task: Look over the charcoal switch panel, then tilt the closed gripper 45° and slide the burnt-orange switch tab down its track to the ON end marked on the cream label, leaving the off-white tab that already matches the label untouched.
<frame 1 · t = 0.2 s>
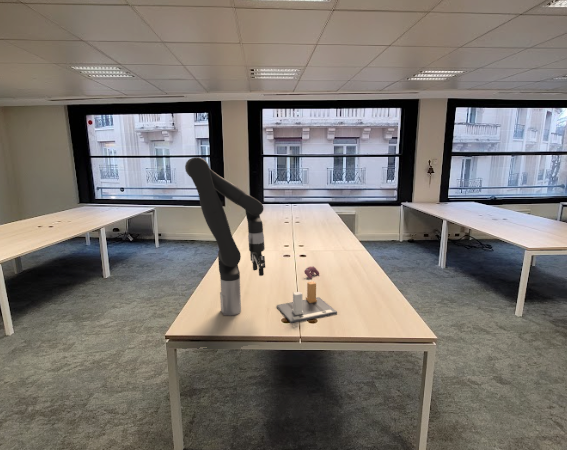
hand: (258, 272, 161), 18 cm above the table, tool pointing down, fingers open, 8 cm apart
video game controller: (311, 276, 206), on the table
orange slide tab: (311, 291, 166), point 6 cm above the table, slide at 0.0 cm
switch panel: (306, 310, 160), on the table
white slide tab: (297, 302, 154), point 6 cm above the table, slide at 9.0 cm
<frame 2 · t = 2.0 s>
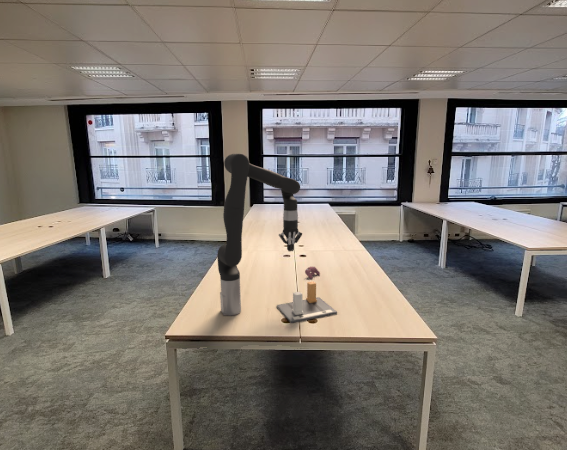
hand: (290, 250, 172), 25 cm above the table, tool pointing down, fingers closed
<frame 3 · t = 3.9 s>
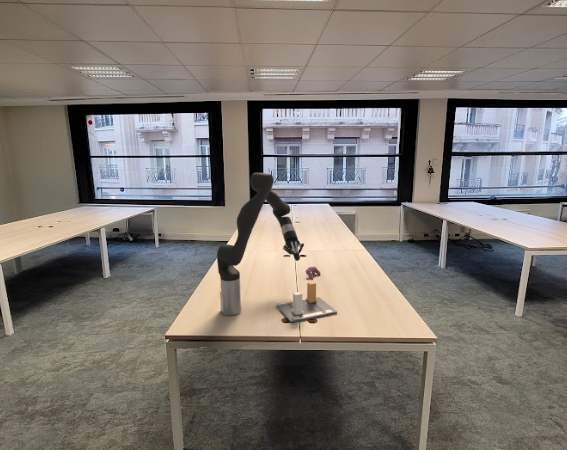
hand: (298, 260, 179), 18 cm above the table, tool tilted 45°, fingers closed
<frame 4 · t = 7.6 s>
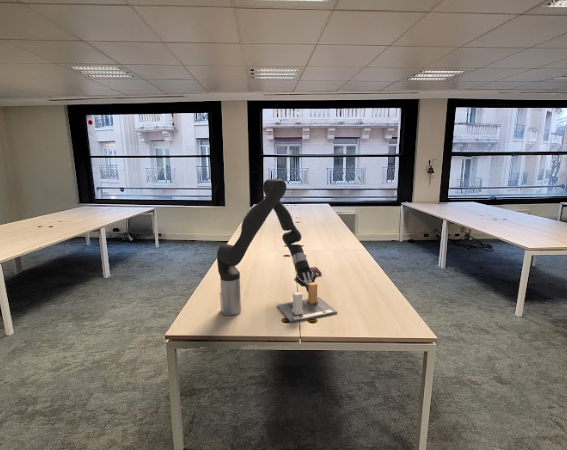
hand: (310, 292, 167), 5 cm above the table, tool tilted 45°, fingers closed
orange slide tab: (312, 292, 165), point 6 cm above the table, slide at 1.2 cm, touching gripper
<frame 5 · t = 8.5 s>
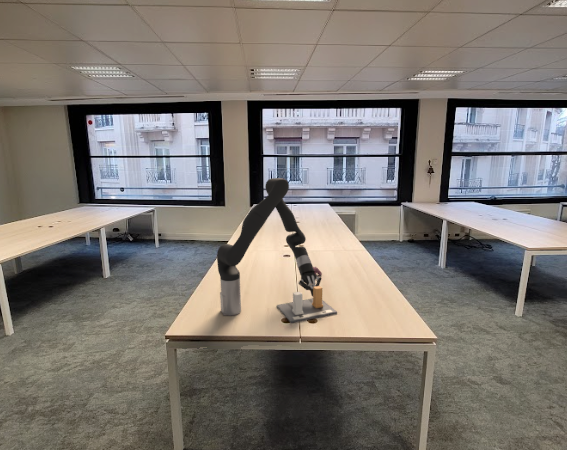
hand: (315, 296, 163), 5 cm above the table, tool tilted 45°, fingers closed
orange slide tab: (317, 296, 161), point 6 cm above the table, slide at 6.5 cm, touching gripper
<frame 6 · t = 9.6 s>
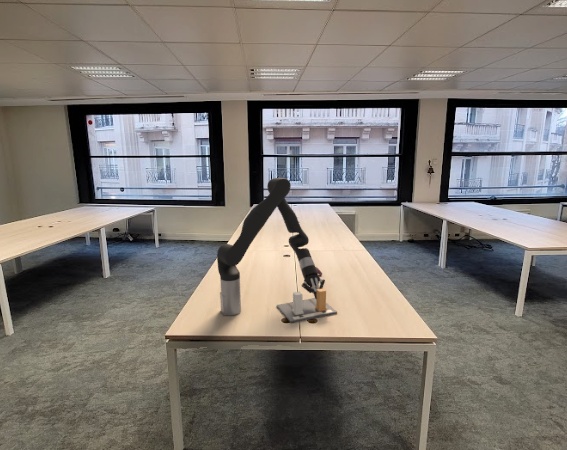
hand: (319, 299, 159), 5 cm above the table, tool tilted 45°, fingers closed
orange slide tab: (321, 299, 157), point 6 cm above the table, slide at 10.0 cm, touching gripper
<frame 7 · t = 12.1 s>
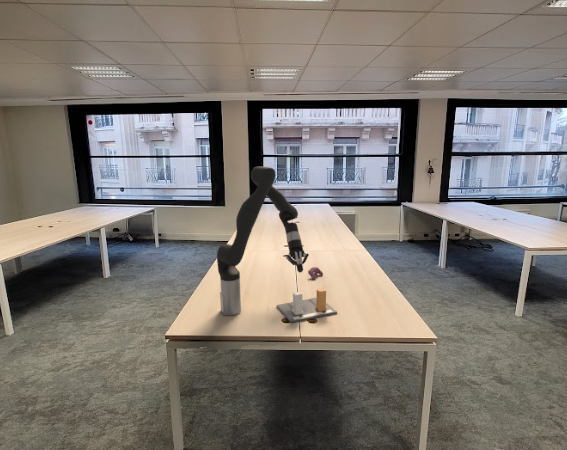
hand: (300, 271, 171), 15 cm above the table, tool tilted 35°, fingers closed
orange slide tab: (321, 299, 157), point 6 cm above the table, slide at 10.0 cm
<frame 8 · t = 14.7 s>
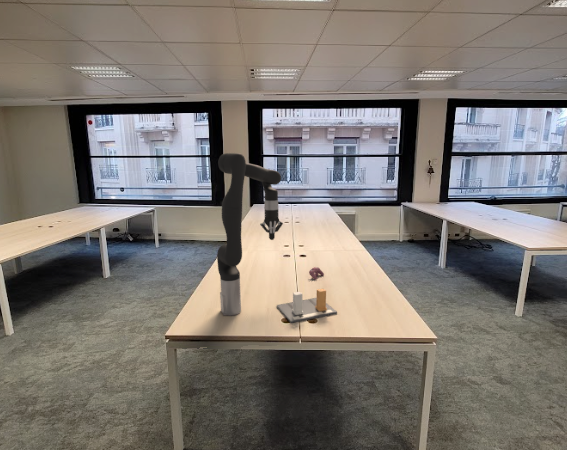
hand: (271, 239, 180), 29 cm above the table, tool pointing down, fingers closed
at the end: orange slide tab slide at 10.0 cm; white slide tab slide at 9.0 cm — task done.
